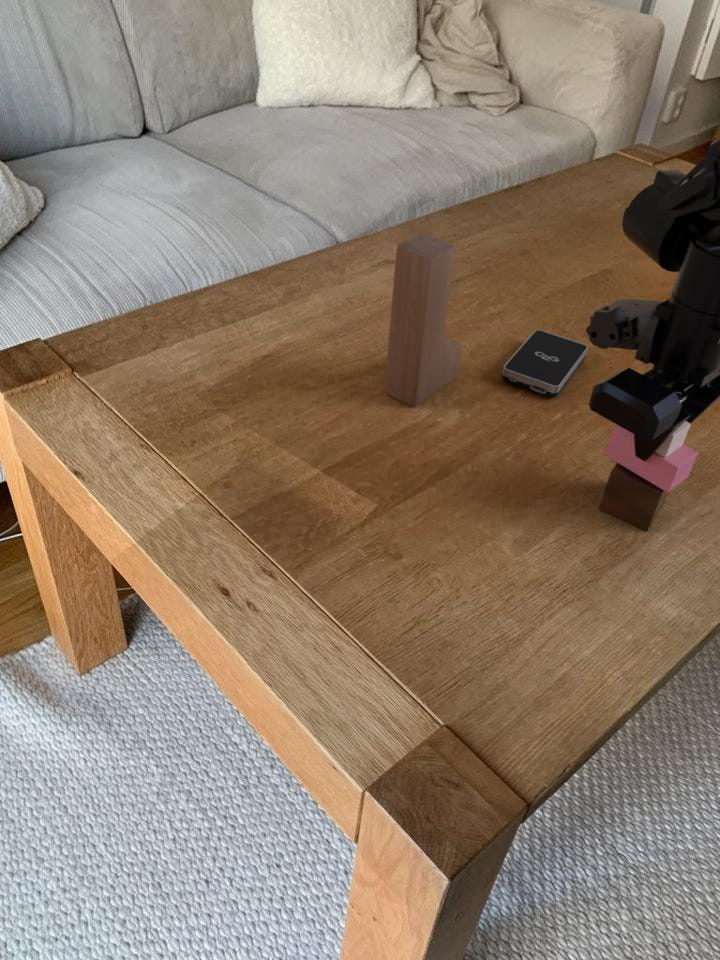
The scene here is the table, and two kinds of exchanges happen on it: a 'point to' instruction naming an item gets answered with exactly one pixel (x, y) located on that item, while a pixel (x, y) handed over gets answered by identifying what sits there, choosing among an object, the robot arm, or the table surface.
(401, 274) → the wooden block
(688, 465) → the pink block with cube
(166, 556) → the table surface
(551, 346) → the external hard drive
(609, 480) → the walnut block
